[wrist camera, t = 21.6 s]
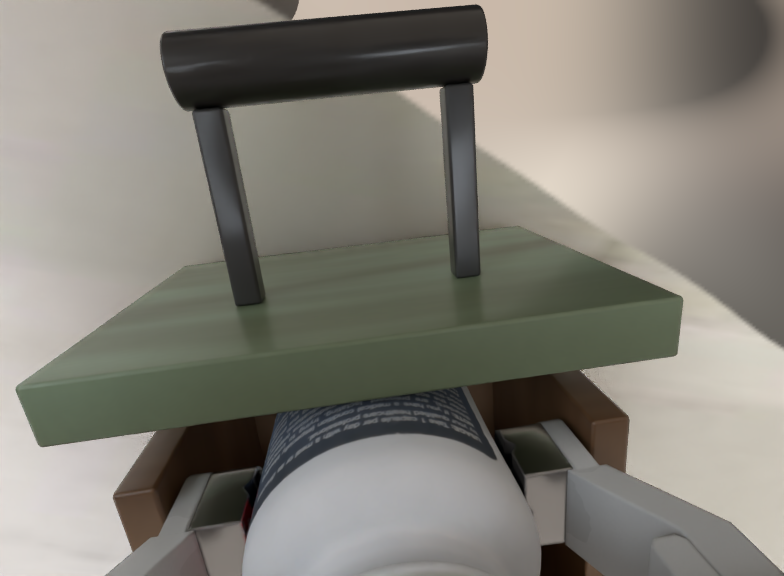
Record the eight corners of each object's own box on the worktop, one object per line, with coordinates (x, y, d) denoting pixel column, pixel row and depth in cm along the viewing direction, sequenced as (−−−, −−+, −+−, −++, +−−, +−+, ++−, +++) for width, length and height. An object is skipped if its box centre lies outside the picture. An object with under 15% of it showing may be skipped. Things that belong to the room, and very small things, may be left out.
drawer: (136, 83, 13) (-155, -11, 5) (517, 48, 13) (727, -77, 6) (257, 554, 18) (196, 830, 11) (523, 510, 19) (636, 741, 12)
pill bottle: (248, 367, 13) (61, 796, 4) (402, 274, 12) (526, 545, 4) (348, 488, 14) (353, 967, 6) (486, 408, 14) (700, 802, 6)
